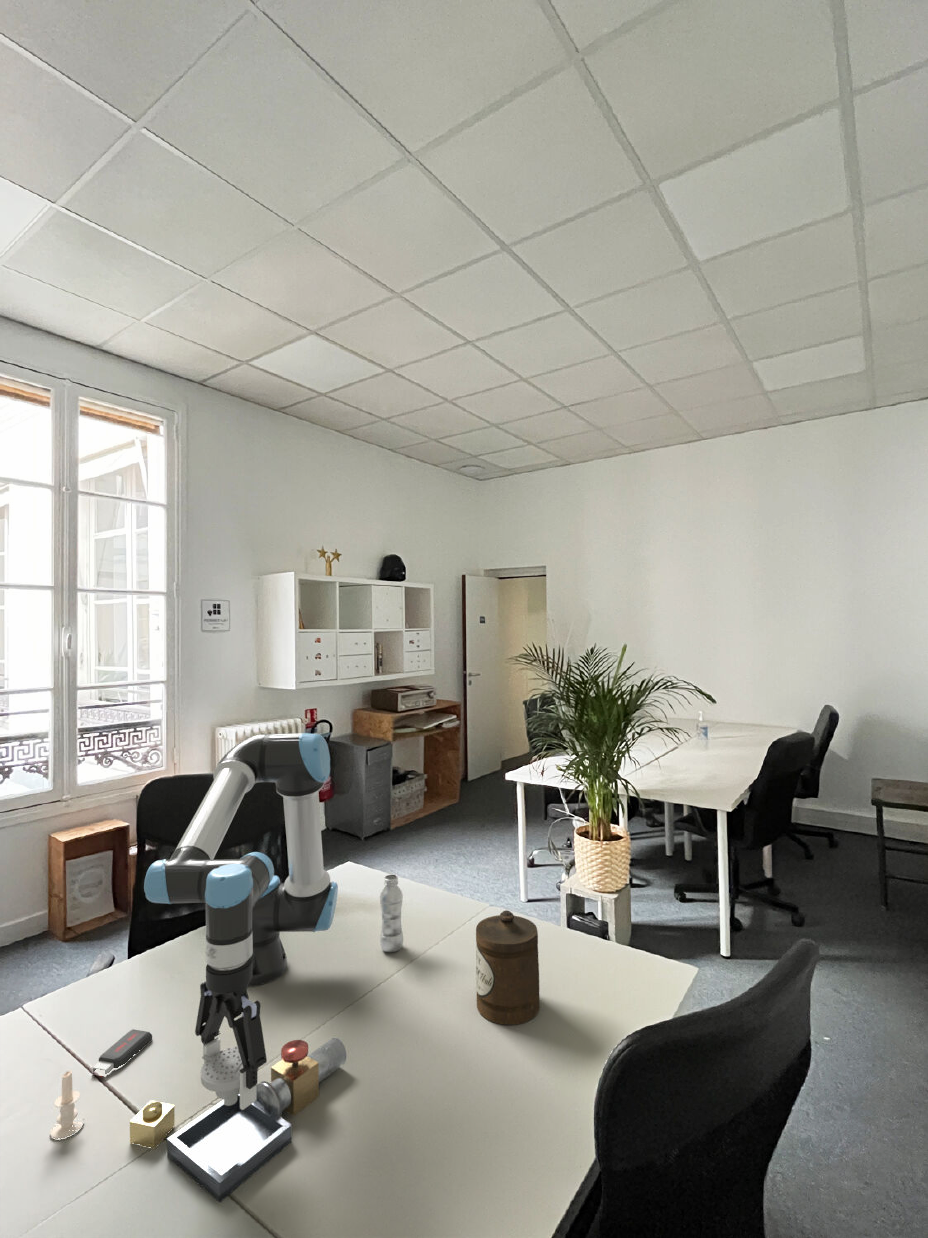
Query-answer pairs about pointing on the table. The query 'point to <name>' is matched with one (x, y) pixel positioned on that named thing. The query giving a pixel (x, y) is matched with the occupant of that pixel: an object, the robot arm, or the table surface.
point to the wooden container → (507, 969)
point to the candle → (66, 1109)
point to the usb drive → (123, 1050)
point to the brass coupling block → (152, 1124)
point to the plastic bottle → (391, 915)
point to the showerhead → (223, 1074)
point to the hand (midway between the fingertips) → (229, 1091)
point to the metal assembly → (253, 1121)
